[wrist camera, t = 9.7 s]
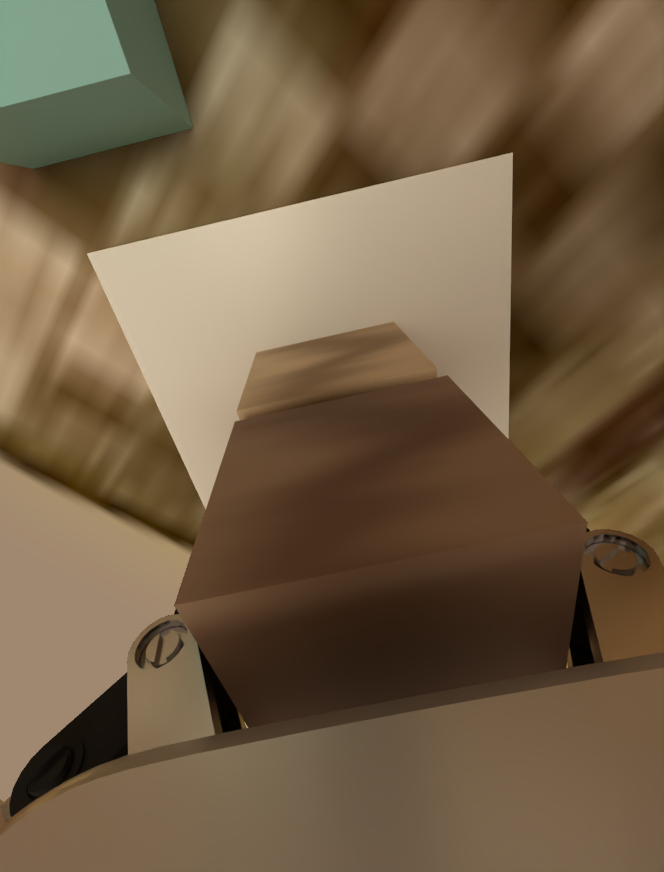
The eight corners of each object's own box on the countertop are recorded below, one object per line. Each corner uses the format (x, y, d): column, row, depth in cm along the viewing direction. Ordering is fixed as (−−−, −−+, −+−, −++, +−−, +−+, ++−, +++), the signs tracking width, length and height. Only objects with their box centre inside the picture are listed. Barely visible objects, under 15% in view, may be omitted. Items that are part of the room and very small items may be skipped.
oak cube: (393, 321, 17) (436, 367, 11) (408, 441, 20) (448, 521, 14) (256, 352, 17) (236, 411, 12) (291, 466, 20) (288, 555, 15)
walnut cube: (447, 375, 11) (587, 522, 6) (458, 536, 14) (556, 733, 8) (234, 421, 11) (174, 605, 6) (289, 570, 14) (282, 783, 9)
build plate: (500, 156, 15) (512, 152, 14) (499, 488, 23) (507, 499, 22) (98, 251, 16) (86, 253, 15) (230, 544, 23) (227, 556, 22)
